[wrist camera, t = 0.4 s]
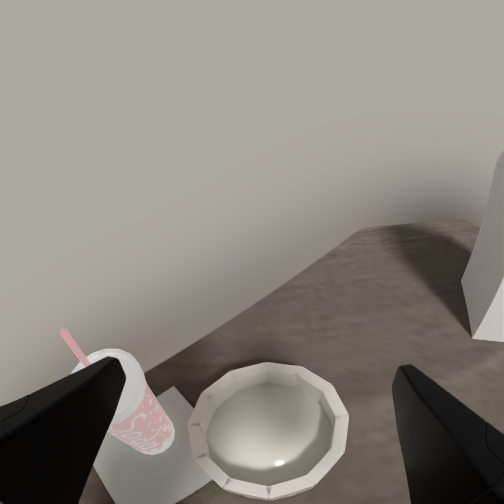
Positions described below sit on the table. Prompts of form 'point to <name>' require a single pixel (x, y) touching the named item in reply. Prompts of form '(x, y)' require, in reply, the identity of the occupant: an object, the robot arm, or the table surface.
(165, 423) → the beverage cup
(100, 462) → the mat
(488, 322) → the milk
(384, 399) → the table surface
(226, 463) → the bowl
